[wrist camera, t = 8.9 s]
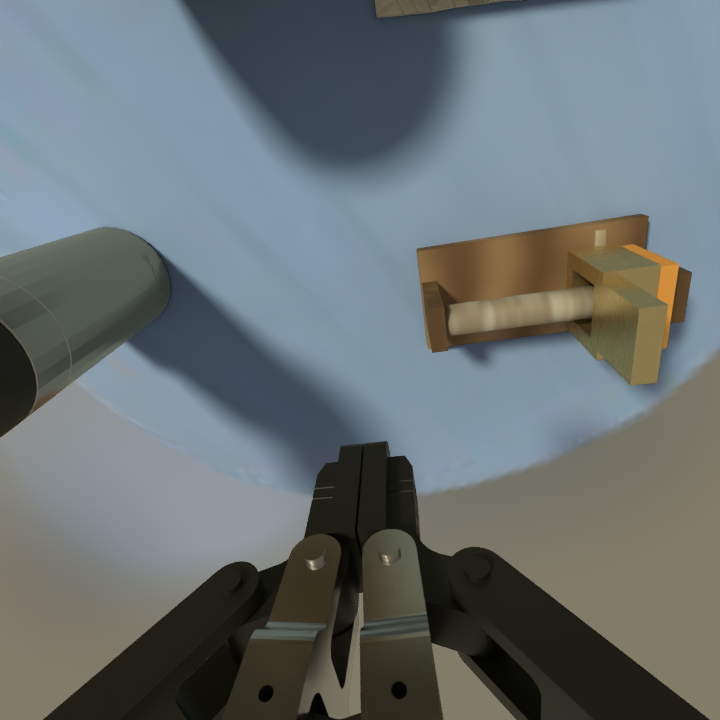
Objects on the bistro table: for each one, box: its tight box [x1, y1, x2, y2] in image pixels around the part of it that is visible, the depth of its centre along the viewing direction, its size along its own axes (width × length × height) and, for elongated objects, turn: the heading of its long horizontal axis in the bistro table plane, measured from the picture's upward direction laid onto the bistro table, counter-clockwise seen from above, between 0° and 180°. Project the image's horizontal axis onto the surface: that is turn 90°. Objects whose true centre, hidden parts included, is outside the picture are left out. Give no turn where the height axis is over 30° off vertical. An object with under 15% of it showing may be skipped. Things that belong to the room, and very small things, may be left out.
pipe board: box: [417, 214, 692, 353], centre depth 35 cm, size 18×9×8 cm, turn 100°
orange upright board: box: [622, 244, 679, 349], centre depth 32 cm, size 1×6×6 cm, turn 10°
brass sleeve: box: [565, 244, 668, 386], centre depth 30 cm, size 4×6×11 cm, turn 10°
